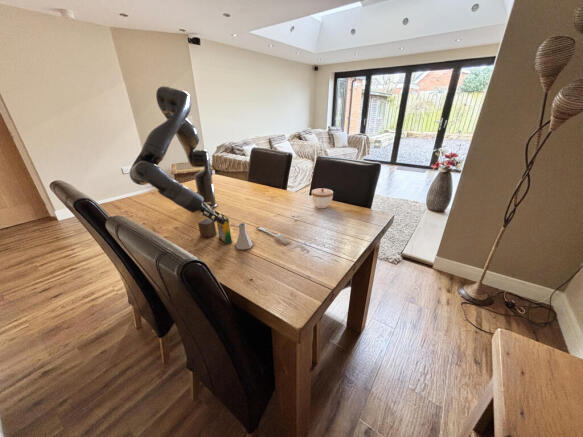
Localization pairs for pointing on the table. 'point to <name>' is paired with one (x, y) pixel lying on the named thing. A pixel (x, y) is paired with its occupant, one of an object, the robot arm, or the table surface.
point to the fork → (274, 234)
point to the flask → (243, 238)
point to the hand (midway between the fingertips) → (221, 218)
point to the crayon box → (224, 230)
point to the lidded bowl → (322, 197)
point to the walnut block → (207, 228)
